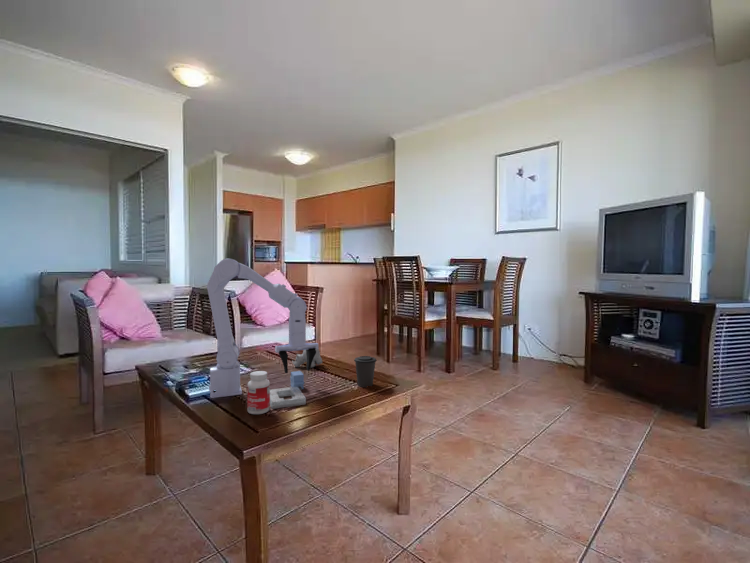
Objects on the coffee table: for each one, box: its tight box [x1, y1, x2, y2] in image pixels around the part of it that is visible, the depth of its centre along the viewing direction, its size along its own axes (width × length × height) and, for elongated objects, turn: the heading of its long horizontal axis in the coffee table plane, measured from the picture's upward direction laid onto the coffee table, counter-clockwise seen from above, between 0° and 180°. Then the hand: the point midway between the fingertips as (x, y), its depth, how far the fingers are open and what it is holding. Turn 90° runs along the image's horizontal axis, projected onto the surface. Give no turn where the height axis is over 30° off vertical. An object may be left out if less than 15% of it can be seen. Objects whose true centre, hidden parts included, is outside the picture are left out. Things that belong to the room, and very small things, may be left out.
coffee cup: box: [353, 355, 377, 388], centre depth 134 cm, size 8×8×10 cm
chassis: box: [270, 386, 307, 410], centre depth 118 cm, size 10×12×2 cm
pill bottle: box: [246, 370, 271, 415], centre depth 109 cm, size 6×6×11 cm
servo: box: [289, 370, 305, 392], centre depth 130 cm, size 8×3×5 cm, turn 24°
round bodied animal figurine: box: [291, 349, 323, 369], centre depth 158 cm, size 7×12×8 cm, turn 98°
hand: (297, 371), depth 130 cm, fingers open, 7 cm apart
